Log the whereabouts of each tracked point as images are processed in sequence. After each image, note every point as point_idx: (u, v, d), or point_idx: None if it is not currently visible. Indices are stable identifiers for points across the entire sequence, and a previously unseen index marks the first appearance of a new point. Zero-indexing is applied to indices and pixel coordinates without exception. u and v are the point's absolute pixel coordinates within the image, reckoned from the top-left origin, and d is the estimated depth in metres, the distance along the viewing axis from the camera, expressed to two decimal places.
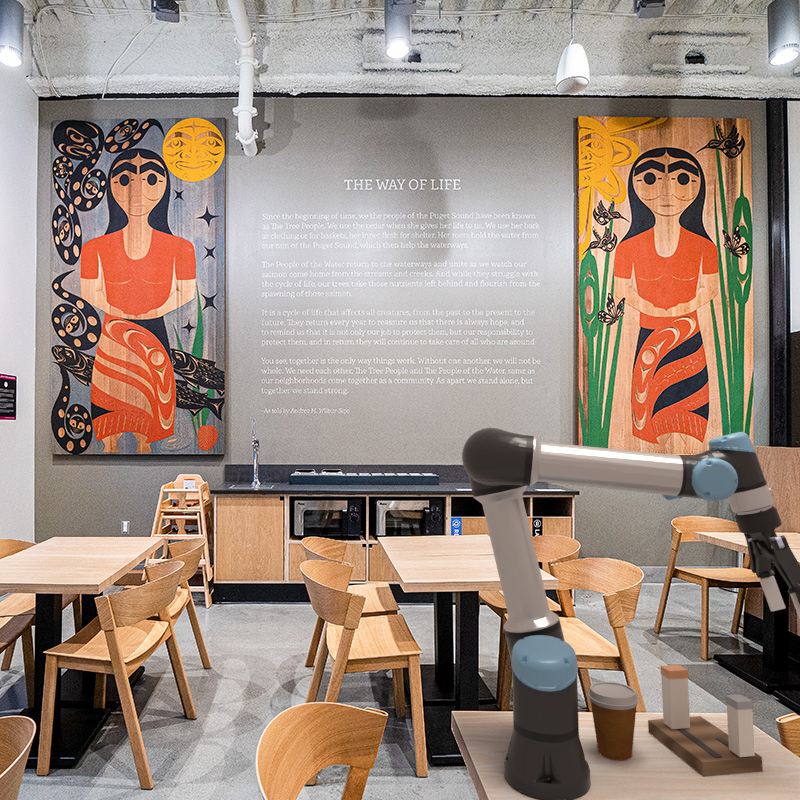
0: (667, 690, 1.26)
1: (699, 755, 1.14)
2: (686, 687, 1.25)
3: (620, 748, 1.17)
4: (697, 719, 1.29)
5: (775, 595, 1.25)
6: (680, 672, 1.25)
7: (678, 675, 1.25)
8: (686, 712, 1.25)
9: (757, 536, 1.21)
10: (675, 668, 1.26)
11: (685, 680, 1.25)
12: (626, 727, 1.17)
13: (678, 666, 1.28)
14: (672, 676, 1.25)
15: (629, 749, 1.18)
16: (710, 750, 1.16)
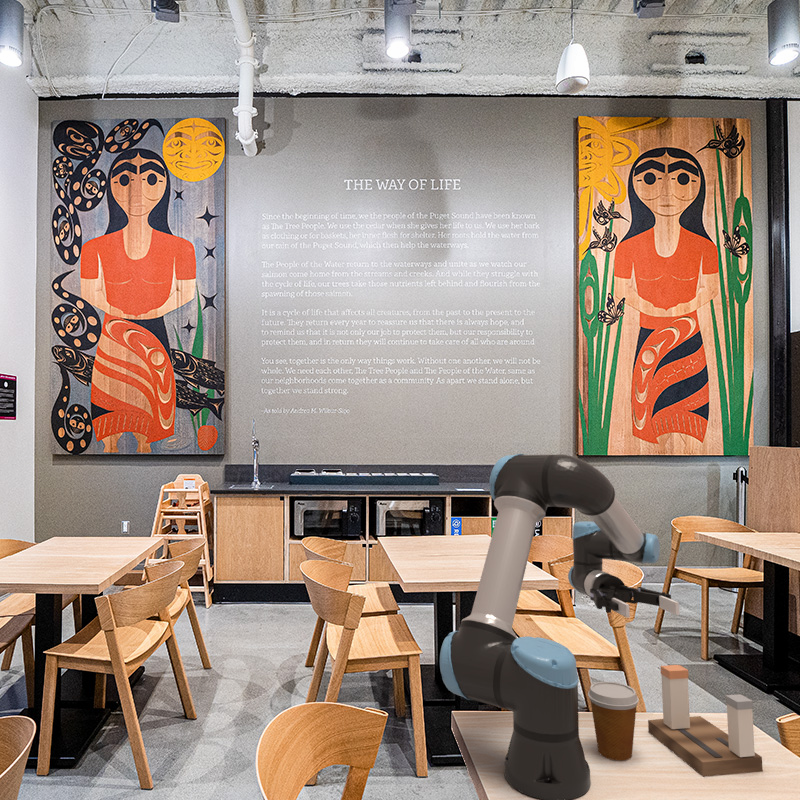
0: (667, 690, 1.26)
1: (699, 755, 1.14)
2: (686, 687, 1.25)
3: (620, 748, 1.17)
4: (697, 719, 1.29)
5: None
6: (680, 672, 1.25)
7: (678, 675, 1.25)
8: (686, 712, 1.25)
9: (614, 588, 1.52)
10: (675, 668, 1.26)
11: (685, 680, 1.25)
12: (626, 727, 1.17)
13: (678, 666, 1.28)
14: (672, 676, 1.25)
15: (629, 749, 1.18)
16: (710, 750, 1.16)
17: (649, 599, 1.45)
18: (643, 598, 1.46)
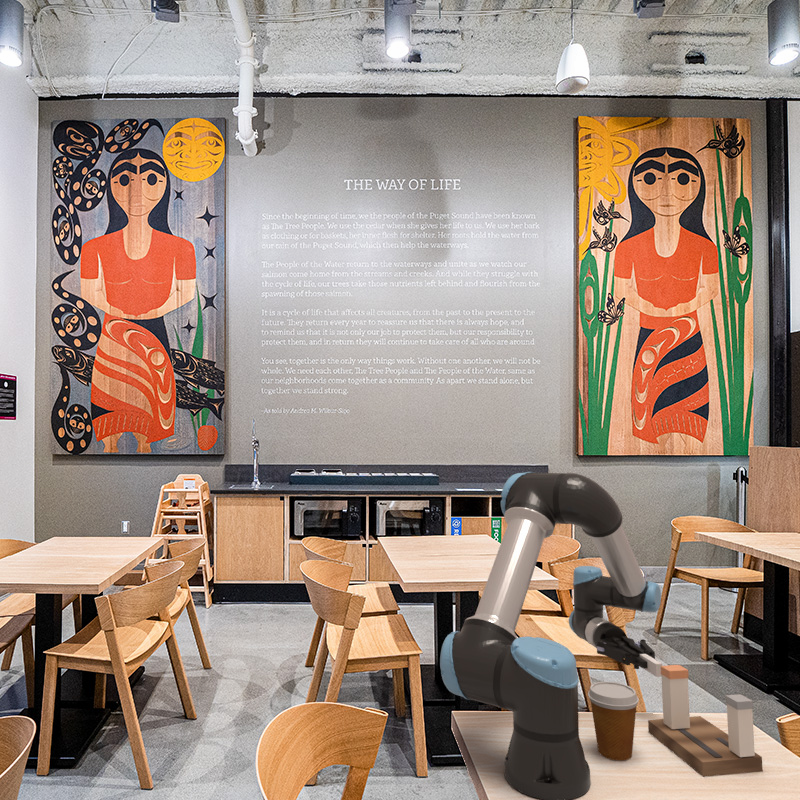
0: (667, 690, 1.26)
1: (699, 755, 1.14)
2: (686, 687, 1.25)
3: (620, 748, 1.17)
4: (697, 719, 1.29)
5: None
6: (680, 672, 1.25)
7: (678, 675, 1.25)
8: (686, 712, 1.25)
9: None
10: (675, 668, 1.26)
11: (685, 680, 1.25)
12: (626, 727, 1.17)
13: (678, 666, 1.28)
14: (672, 676, 1.25)
15: (629, 749, 1.18)
16: (710, 750, 1.16)
17: None
18: None
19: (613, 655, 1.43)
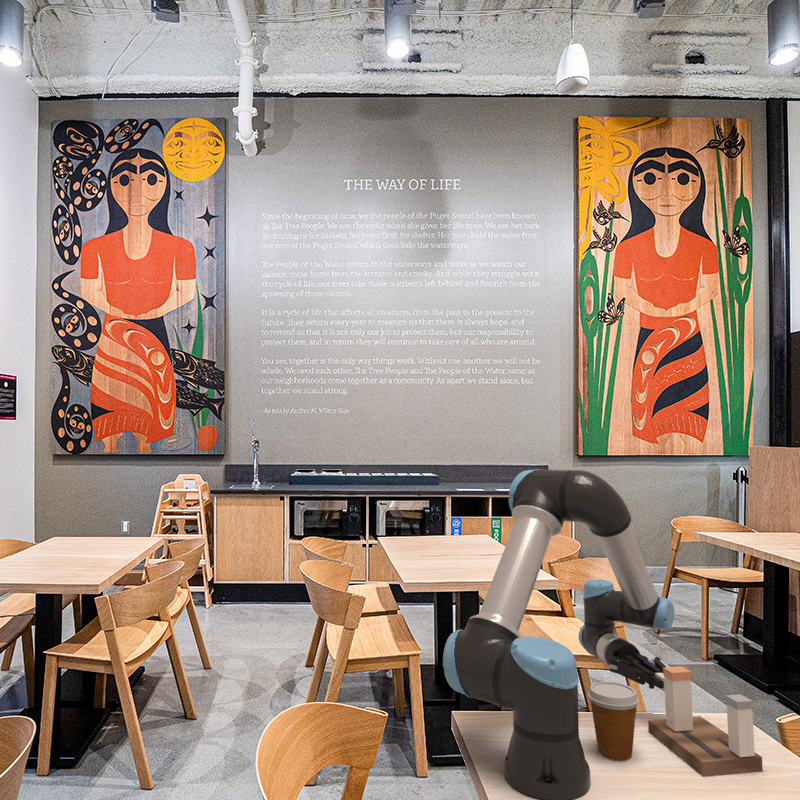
0: (670, 692, 1.25)
1: (699, 755, 1.14)
2: (689, 688, 1.24)
3: (620, 748, 1.17)
4: (697, 719, 1.29)
5: None
6: (683, 674, 1.24)
7: (681, 677, 1.24)
8: (689, 714, 1.24)
9: None
10: (678, 670, 1.25)
11: (688, 682, 1.24)
12: (626, 727, 1.17)
13: (681, 668, 1.27)
14: (675, 678, 1.24)
15: (629, 749, 1.18)
16: (710, 750, 1.16)
17: None
18: None
19: (627, 674, 1.38)
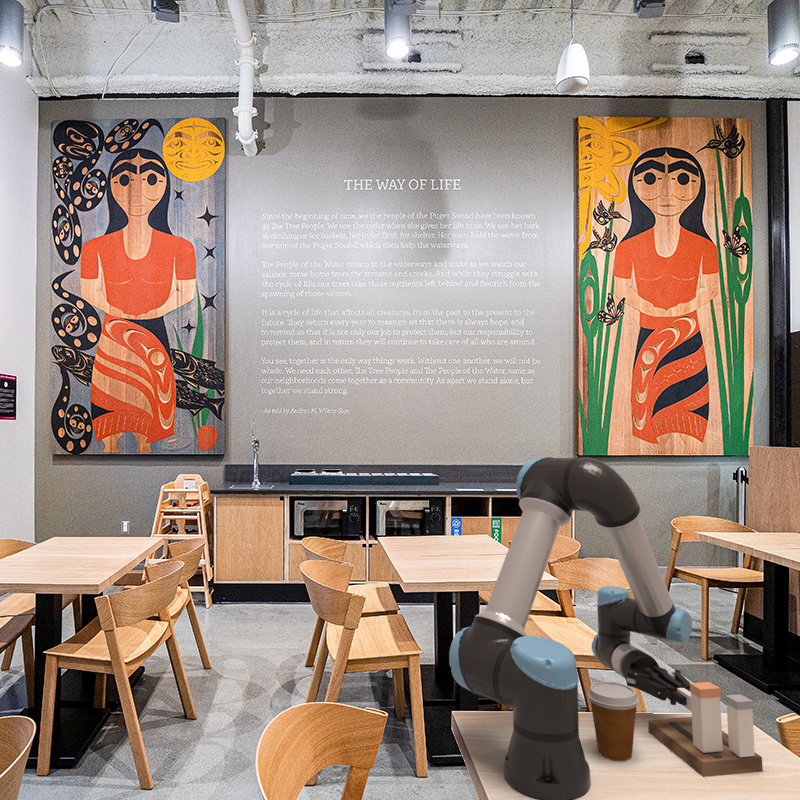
0: (697, 710, 1.16)
1: (699, 755, 1.14)
2: (718, 706, 1.15)
3: (620, 748, 1.17)
4: None
5: None
6: (711, 690, 1.15)
7: (709, 694, 1.15)
8: (718, 734, 1.15)
9: None
10: (706, 686, 1.17)
11: (717, 699, 1.16)
12: (626, 727, 1.17)
13: (709, 684, 1.18)
14: (703, 695, 1.15)
15: (629, 749, 1.18)
16: None
17: None
18: None
19: (646, 688, 1.29)
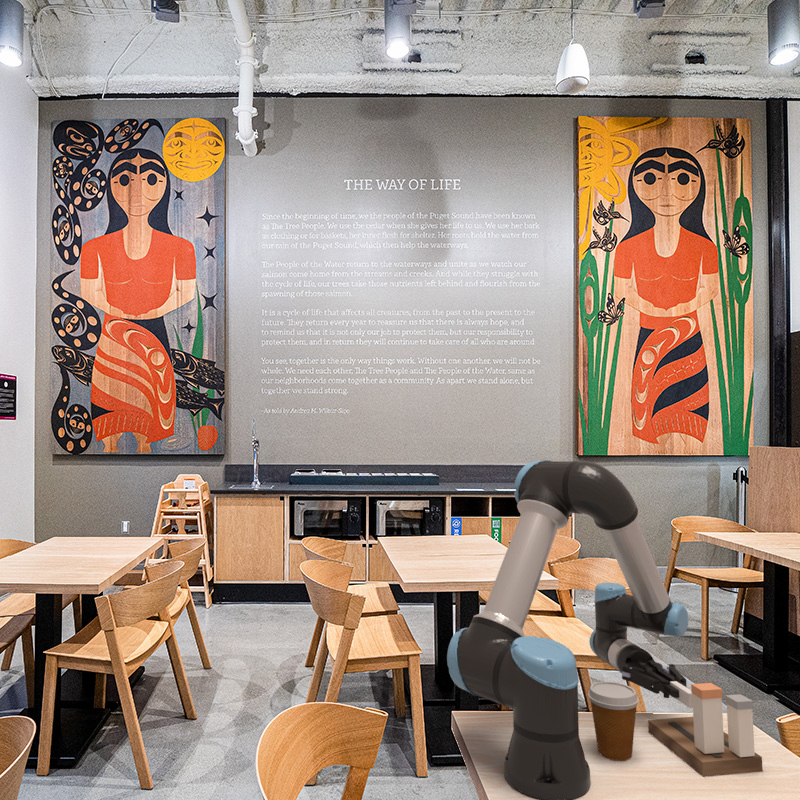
0: (699, 711, 1.16)
1: (699, 755, 1.14)
2: (720, 707, 1.15)
3: (620, 748, 1.17)
4: None
5: None
6: (713, 691, 1.15)
7: (711, 695, 1.15)
8: (720, 735, 1.15)
9: None
10: (708, 687, 1.16)
11: (719, 700, 1.15)
12: (626, 727, 1.17)
13: (710, 684, 1.17)
14: (705, 696, 1.15)
15: (629, 749, 1.18)
16: None
17: None
18: None
19: (640, 682, 1.32)
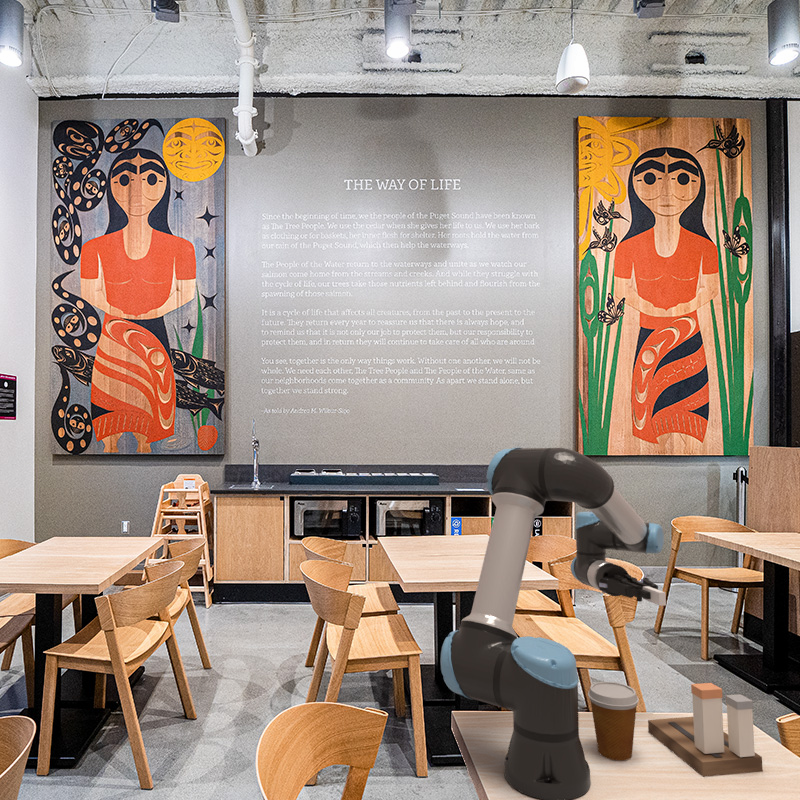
0: (699, 711, 1.16)
1: (699, 755, 1.14)
2: (720, 707, 1.15)
3: (620, 748, 1.17)
4: None
5: None
6: (713, 691, 1.15)
7: (711, 695, 1.15)
8: (720, 735, 1.15)
9: None
10: (708, 687, 1.16)
11: (719, 700, 1.15)
12: (626, 727, 1.17)
13: (710, 684, 1.17)
14: (705, 696, 1.15)
15: (629, 749, 1.18)
16: None
17: None
18: None
19: (616, 589, 1.42)
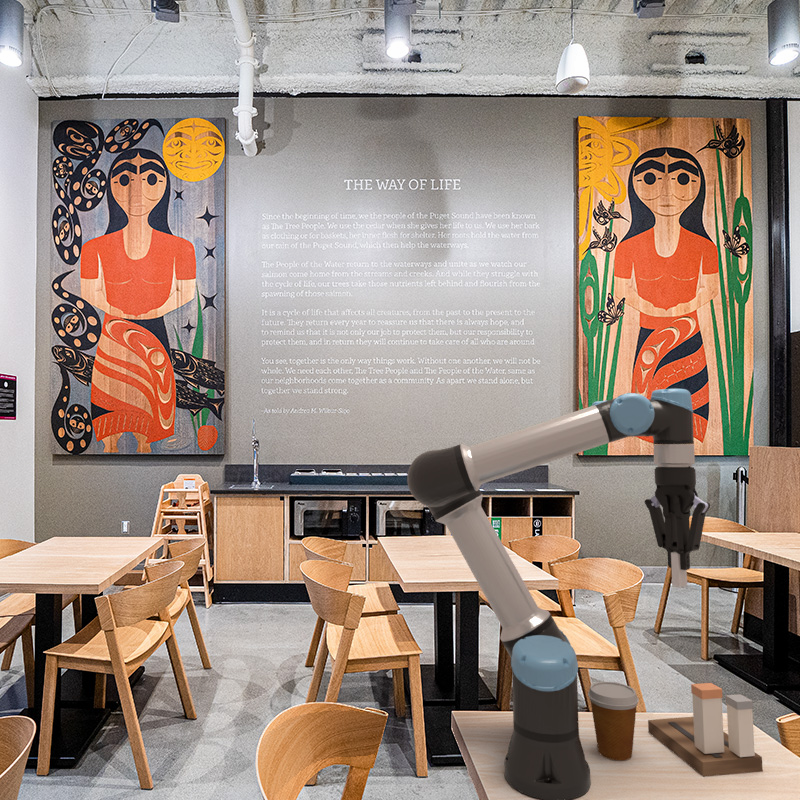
0: (699, 711, 1.16)
1: (699, 755, 1.14)
2: (720, 707, 1.15)
3: (620, 748, 1.17)
4: None
5: None
6: (713, 691, 1.15)
7: (711, 695, 1.15)
8: (720, 735, 1.15)
9: (671, 491, 1.22)
10: (708, 687, 1.16)
11: (719, 700, 1.15)
12: (626, 727, 1.17)
13: (710, 684, 1.17)
14: (705, 696, 1.15)
15: (629, 749, 1.18)
16: None
17: None
18: None
19: None
